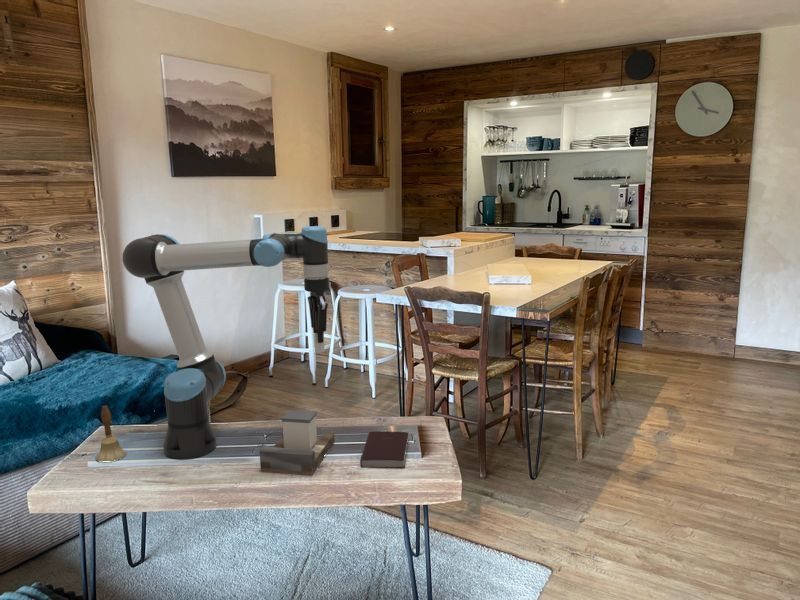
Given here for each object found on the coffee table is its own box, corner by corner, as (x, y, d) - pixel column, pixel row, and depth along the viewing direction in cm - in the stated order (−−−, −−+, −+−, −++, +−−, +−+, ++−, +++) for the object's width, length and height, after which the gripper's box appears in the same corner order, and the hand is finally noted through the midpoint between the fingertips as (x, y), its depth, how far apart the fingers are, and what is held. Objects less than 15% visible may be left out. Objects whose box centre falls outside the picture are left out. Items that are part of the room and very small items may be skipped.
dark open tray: (288, 439, 192) (287, 421, 191) (334, 442, 189) (333, 424, 188) (260, 471, 172) (259, 451, 171) (312, 475, 169) (311, 455, 168)
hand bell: (127, 459, 181) (121, 407, 178) (95, 465, 177) (89, 413, 174) (125, 448, 188) (120, 398, 185) (95, 453, 185) (89, 403, 181)
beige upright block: (291, 444, 186) (289, 409, 184) (318, 446, 184) (316, 411, 182) (283, 453, 180) (281, 418, 177) (311, 455, 178) (309, 419, 176)
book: (359, 469, 173) (359, 458, 173) (369, 439, 192) (368, 429, 192) (404, 470, 172) (404, 459, 172) (409, 440, 191) (409, 430, 191)
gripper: (335, 279, 184) (338, 355, 189) (321, 273, 195) (324, 345, 200) (310, 281, 181) (314, 359, 185) (298, 275, 192) (302, 348, 197)
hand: (319, 351), depth 193 cm, fingers closed
